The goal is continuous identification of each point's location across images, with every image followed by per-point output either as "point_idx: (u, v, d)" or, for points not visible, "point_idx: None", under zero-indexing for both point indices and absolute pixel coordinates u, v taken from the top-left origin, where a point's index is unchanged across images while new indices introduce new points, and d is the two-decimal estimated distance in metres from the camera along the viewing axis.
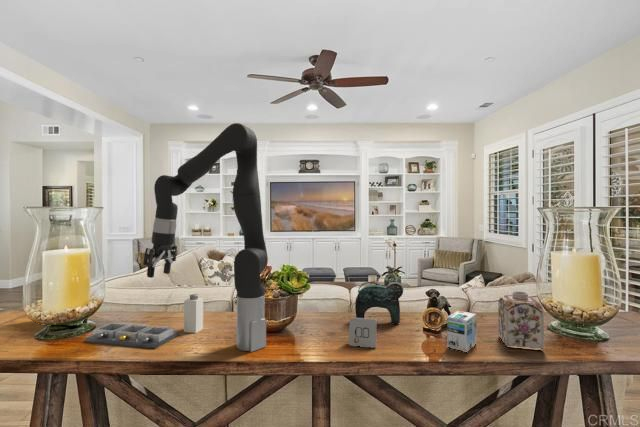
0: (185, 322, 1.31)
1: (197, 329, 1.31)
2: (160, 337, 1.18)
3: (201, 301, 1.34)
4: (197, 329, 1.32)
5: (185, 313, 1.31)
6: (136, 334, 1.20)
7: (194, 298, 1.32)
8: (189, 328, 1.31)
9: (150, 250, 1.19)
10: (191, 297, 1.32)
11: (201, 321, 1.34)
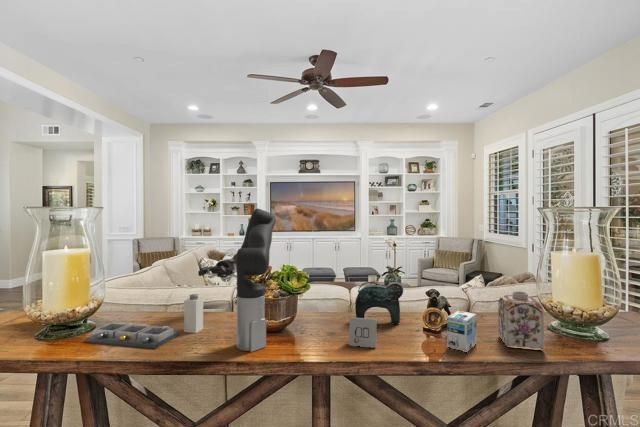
0: (185, 322, 1.31)
1: (197, 329, 1.31)
2: (160, 337, 1.18)
3: (201, 301, 1.34)
4: (197, 329, 1.32)
5: (185, 313, 1.31)
6: (136, 334, 1.20)
7: (194, 298, 1.32)
8: (189, 328, 1.31)
9: None
10: (191, 297, 1.32)
11: (201, 321, 1.34)
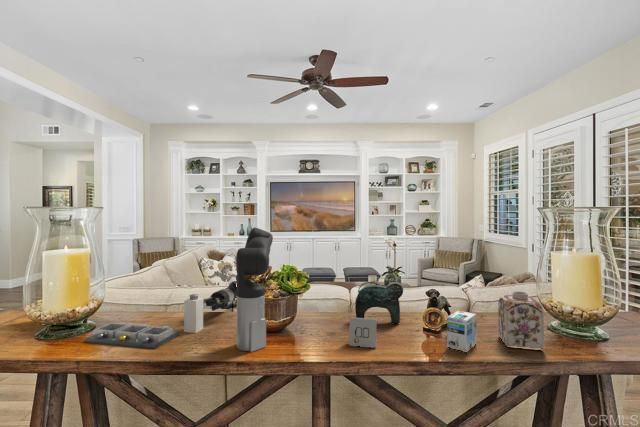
0: (185, 322, 1.31)
1: (197, 329, 1.31)
2: (160, 337, 1.18)
3: (201, 301, 1.34)
4: (197, 329, 1.32)
5: (185, 313, 1.31)
6: (136, 334, 1.20)
7: (194, 298, 1.32)
8: (189, 328, 1.31)
9: None
10: (191, 297, 1.32)
11: (201, 321, 1.34)
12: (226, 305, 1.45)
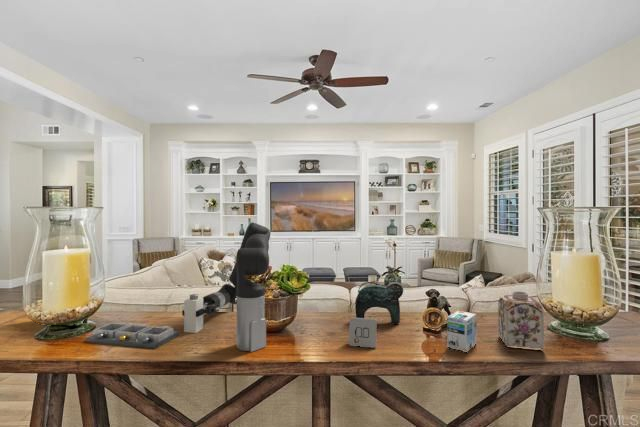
0: (185, 322, 1.31)
1: (197, 329, 1.31)
2: (160, 337, 1.18)
3: (201, 301, 1.34)
4: (197, 329, 1.32)
5: (185, 313, 1.31)
6: (136, 334, 1.20)
7: (194, 298, 1.32)
8: (189, 328, 1.31)
9: None
10: (191, 297, 1.32)
11: (201, 321, 1.34)
12: (213, 311, 1.36)
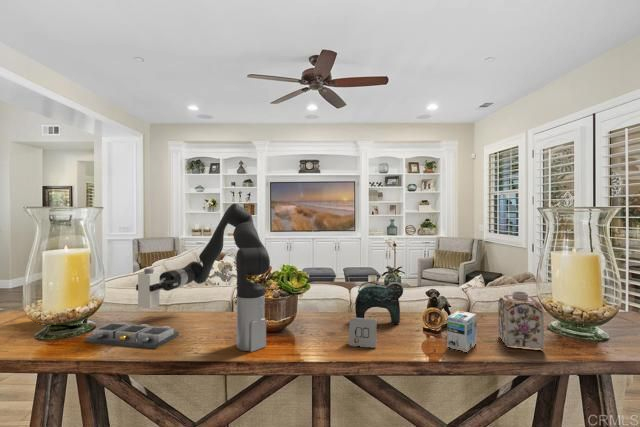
0: (139, 297, 1.25)
1: (152, 304, 1.25)
2: (160, 337, 1.18)
3: (157, 275, 1.27)
4: (152, 305, 1.25)
5: (139, 287, 1.25)
6: (136, 334, 1.20)
7: (149, 272, 1.25)
8: (143, 303, 1.24)
9: None
10: (145, 271, 1.25)
11: (157, 297, 1.28)
12: (170, 286, 1.29)
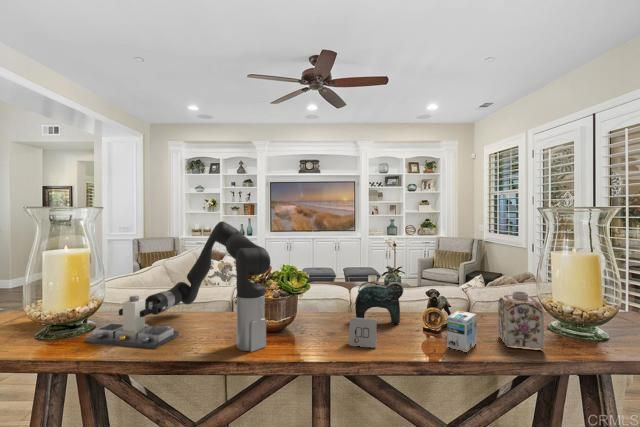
0: (124, 326, 1.22)
1: None
2: (160, 337, 1.18)
3: (142, 303, 1.25)
4: None
5: (124, 316, 1.22)
6: (136, 334, 1.20)
7: (134, 300, 1.23)
8: None
9: None
10: (130, 299, 1.23)
11: (143, 325, 1.25)
12: (160, 310, 1.28)
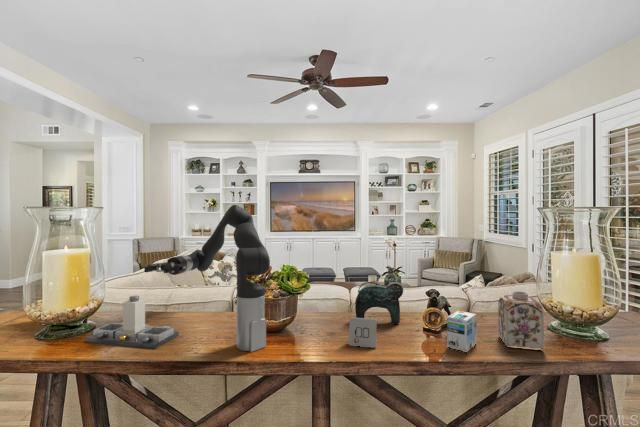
0: (124, 326, 1.22)
1: None
2: (160, 337, 1.18)
3: (142, 303, 1.25)
4: None
5: (124, 316, 1.22)
6: (136, 334, 1.20)
7: (134, 300, 1.23)
8: None
9: None
10: (130, 299, 1.23)
11: (143, 325, 1.25)
12: (181, 269, 1.40)
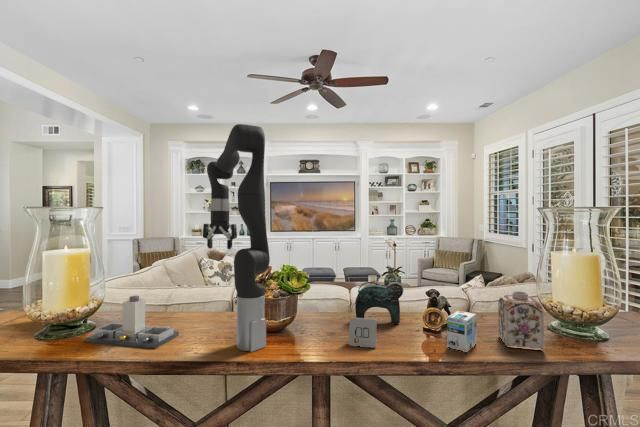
0: (124, 326, 1.22)
1: None
2: (160, 337, 1.18)
3: (142, 303, 1.25)
4: None
5: (124, 316, 1.22)
6: (136, 334, 1.20)
7: (134, 300, 1.23)
8: None
9: None
10: (130, 299, 1.23)
11: (143, 325, 1.25)
12: (235, 232, 1.44)
